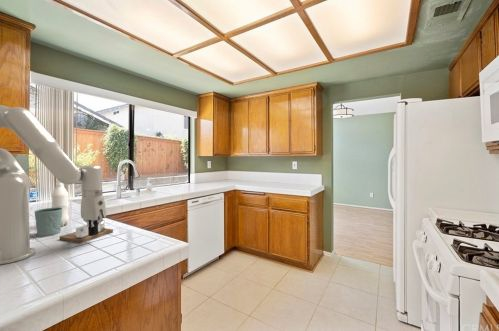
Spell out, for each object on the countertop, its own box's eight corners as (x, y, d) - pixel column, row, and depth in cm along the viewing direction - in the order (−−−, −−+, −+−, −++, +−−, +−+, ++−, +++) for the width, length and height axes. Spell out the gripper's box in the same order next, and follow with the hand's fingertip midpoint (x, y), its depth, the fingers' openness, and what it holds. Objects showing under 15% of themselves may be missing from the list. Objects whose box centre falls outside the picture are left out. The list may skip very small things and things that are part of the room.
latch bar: (101, 228, 111) (100, 218, 111) (106, 229, 110) (106, 218, 110) (75, 236, 100) (75, 225, 100) (81, 237, 99) (81, 225, 99)
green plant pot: (29, 236, 107) (28, 211, 106) (53, 229, 117) (52, 206, 116) (46, 238, 104) (45, 212, 104) (68, 231, 114) (67, 207, 114)
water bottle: (59, 227, 120) (58, 181, 119) (48, 227, 121) (47, 180, 120) (72, 223, 127) (71, 179, 126) (62, 223, 128) (61, 179, 128)
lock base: (81, 243, 98) (80, 229, 97) (59, 239, 102) (59, 226, 102) (113, 232, 112) (112, 220, 112) (92, 229, 117) (92, 218, 116)
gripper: (112, 193, 100) (113, 234, 100) (88, 191, 105) (90, 230, 105) (95, 195, 92) (97, 239, 93) (71, 194, 98) (72, 235, 98)
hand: (93, 234), depth 99 cm, fingers closed
